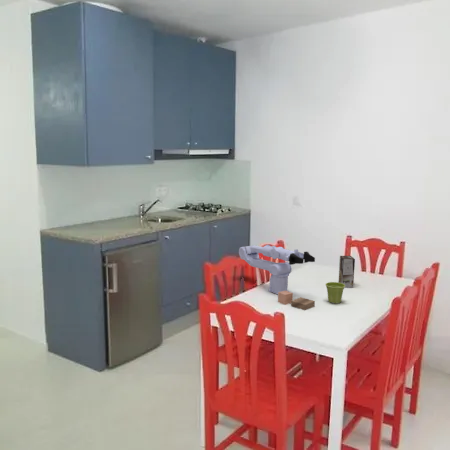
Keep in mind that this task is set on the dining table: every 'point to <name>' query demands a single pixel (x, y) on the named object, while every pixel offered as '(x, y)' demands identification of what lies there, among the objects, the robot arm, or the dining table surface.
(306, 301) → the walnut block
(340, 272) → the coffee box
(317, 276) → the dining table surface
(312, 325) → the dining table surface
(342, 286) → the plant pot
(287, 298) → the terracotta cube
